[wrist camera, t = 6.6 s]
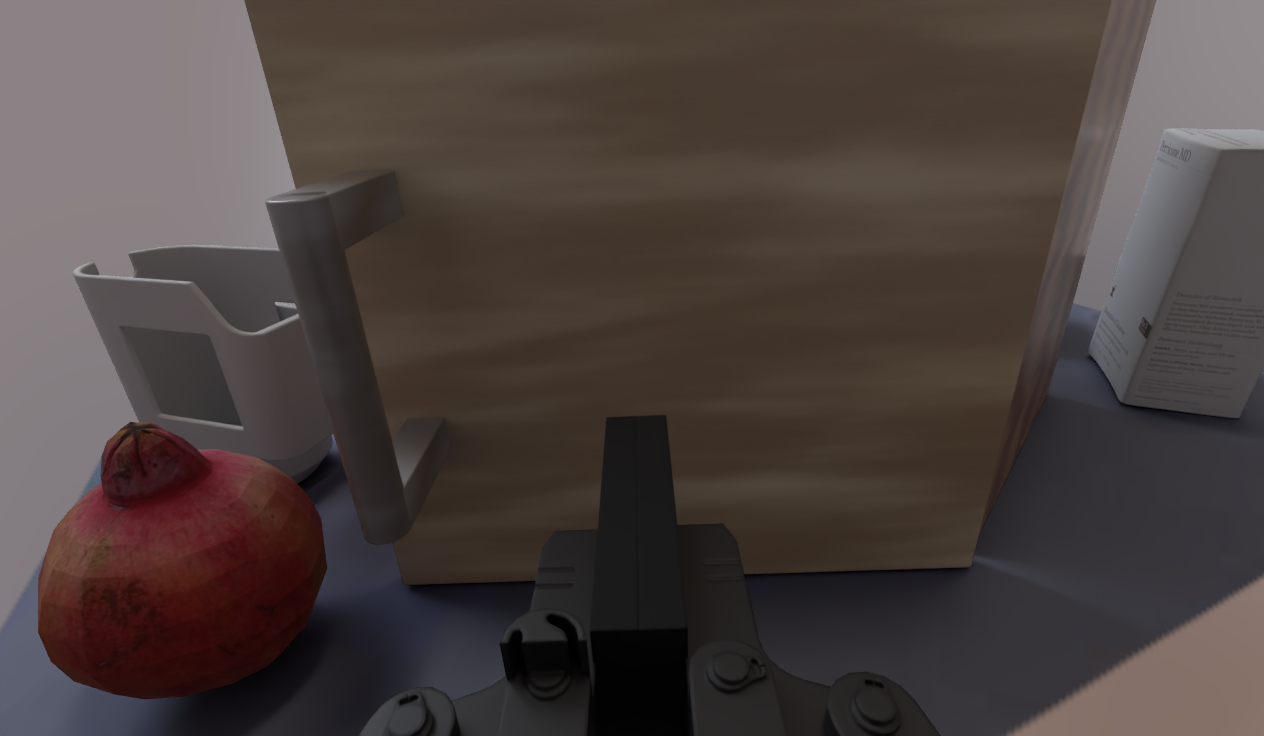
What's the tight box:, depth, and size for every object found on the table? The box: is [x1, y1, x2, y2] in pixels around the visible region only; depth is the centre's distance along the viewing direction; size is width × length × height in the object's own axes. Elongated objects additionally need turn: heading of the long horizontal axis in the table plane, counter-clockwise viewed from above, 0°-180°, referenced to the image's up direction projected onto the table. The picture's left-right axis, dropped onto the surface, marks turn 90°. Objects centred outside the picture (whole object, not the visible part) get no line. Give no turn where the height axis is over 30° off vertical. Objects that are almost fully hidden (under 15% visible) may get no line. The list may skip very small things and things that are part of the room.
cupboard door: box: [245, 0, 1112, 585], centre depth 19 cm, size 6×24×23 cm, turn 90°
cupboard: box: [979, 0, 1156, 534], centre depth 34 cm, size 18×24×24 cm
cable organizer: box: [73, 245, 333, 484], centre depth 32 cm, size 7×12×12 cm, turn 72°
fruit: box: [38, 422, 327, 699], centre depth 21 cm, size 8×8×10 cm
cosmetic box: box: [1088, 128, 1264, 418], centre depth 35 cm, size 8×6×15 cm
